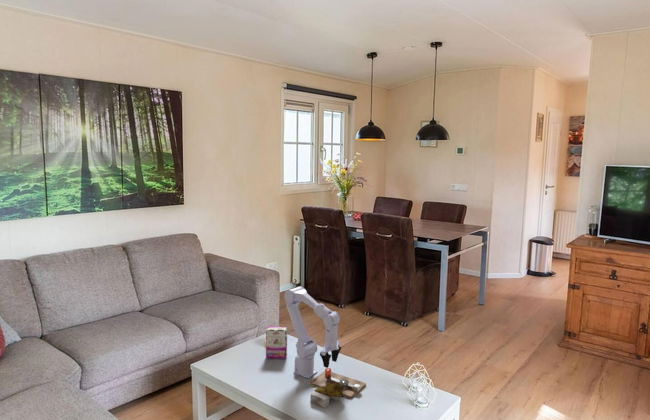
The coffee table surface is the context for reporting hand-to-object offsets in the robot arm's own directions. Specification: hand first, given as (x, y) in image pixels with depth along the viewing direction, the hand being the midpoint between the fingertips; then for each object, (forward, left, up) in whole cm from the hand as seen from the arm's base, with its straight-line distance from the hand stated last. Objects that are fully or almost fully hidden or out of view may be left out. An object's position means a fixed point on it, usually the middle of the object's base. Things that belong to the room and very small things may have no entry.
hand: (330, 364), depth 223 cm
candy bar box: (-39, +8, -10) cm, 41 cm away
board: (+4, -6, -10) cm, 12 cm away
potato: (+7, -12, -10) cm, 17 cm away
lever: (+7, 0, -8) cm, 11 cm away
